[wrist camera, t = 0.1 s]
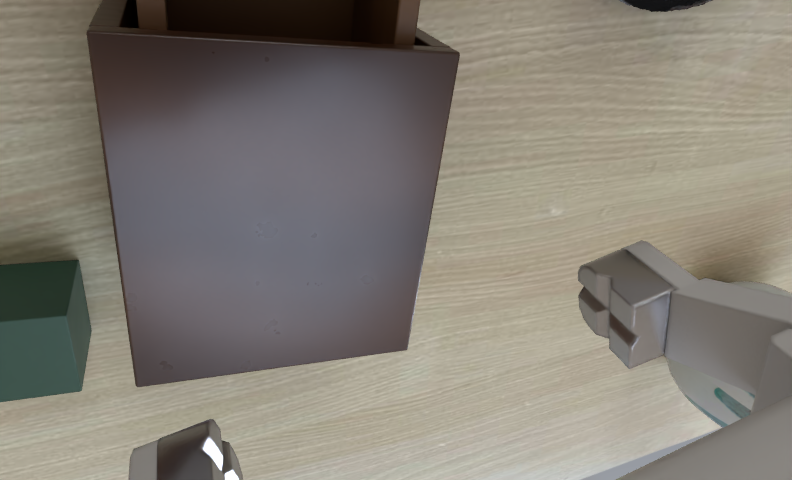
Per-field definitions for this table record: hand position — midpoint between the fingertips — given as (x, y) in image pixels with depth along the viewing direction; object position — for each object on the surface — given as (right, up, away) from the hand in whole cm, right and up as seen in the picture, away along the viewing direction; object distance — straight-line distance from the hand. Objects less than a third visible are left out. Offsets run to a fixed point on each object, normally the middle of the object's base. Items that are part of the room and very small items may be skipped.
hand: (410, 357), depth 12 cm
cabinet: (-7, +7, +16) cm, 19 cm away
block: (-18, -1, +16) cm, 25 cm away
